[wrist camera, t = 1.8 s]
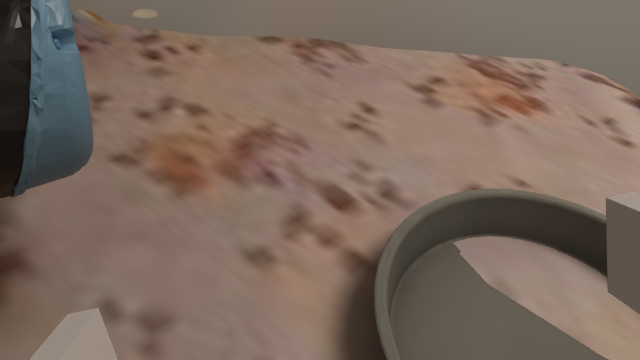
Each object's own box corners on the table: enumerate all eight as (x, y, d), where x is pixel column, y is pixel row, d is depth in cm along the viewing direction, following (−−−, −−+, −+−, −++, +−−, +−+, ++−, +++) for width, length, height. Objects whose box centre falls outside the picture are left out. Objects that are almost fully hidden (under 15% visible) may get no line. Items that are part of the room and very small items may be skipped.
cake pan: (854, 554, 24) (937, 536, 21) (410, 608, 21) (432, 596, 18) (602, 218, 42) (626, 183, 39) (344, 225, 40) (349, 188, 37)
